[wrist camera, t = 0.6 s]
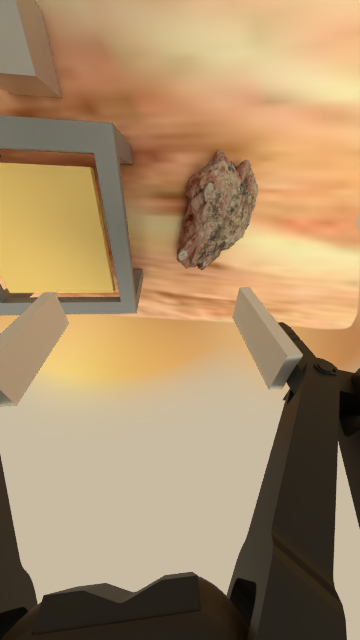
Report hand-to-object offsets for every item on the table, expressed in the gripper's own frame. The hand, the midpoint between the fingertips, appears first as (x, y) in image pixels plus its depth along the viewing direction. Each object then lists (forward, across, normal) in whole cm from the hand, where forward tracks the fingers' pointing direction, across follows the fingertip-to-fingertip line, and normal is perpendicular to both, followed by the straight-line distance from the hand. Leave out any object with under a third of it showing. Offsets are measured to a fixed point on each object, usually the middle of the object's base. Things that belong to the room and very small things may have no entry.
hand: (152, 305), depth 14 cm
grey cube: (+24, -14, +18) cm, 34 cm away
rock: (+24, +9, +3) cm, 26 cm away
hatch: (+13, -13, +2) cm, 19 cm away
